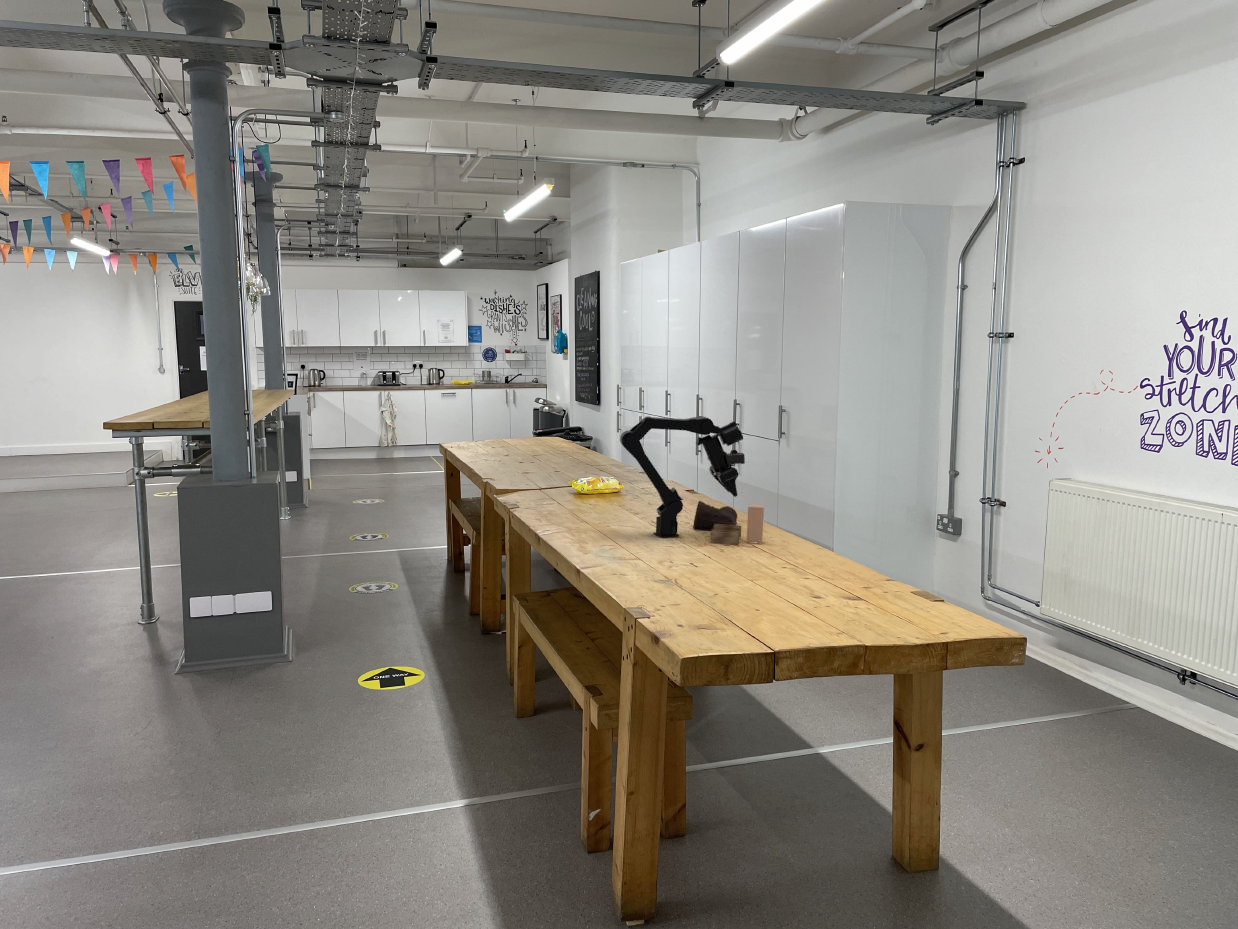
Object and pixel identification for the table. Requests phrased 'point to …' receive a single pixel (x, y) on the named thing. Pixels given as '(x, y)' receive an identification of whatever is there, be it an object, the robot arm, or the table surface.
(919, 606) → the table surface
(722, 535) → the rack
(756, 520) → the clay block
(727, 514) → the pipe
